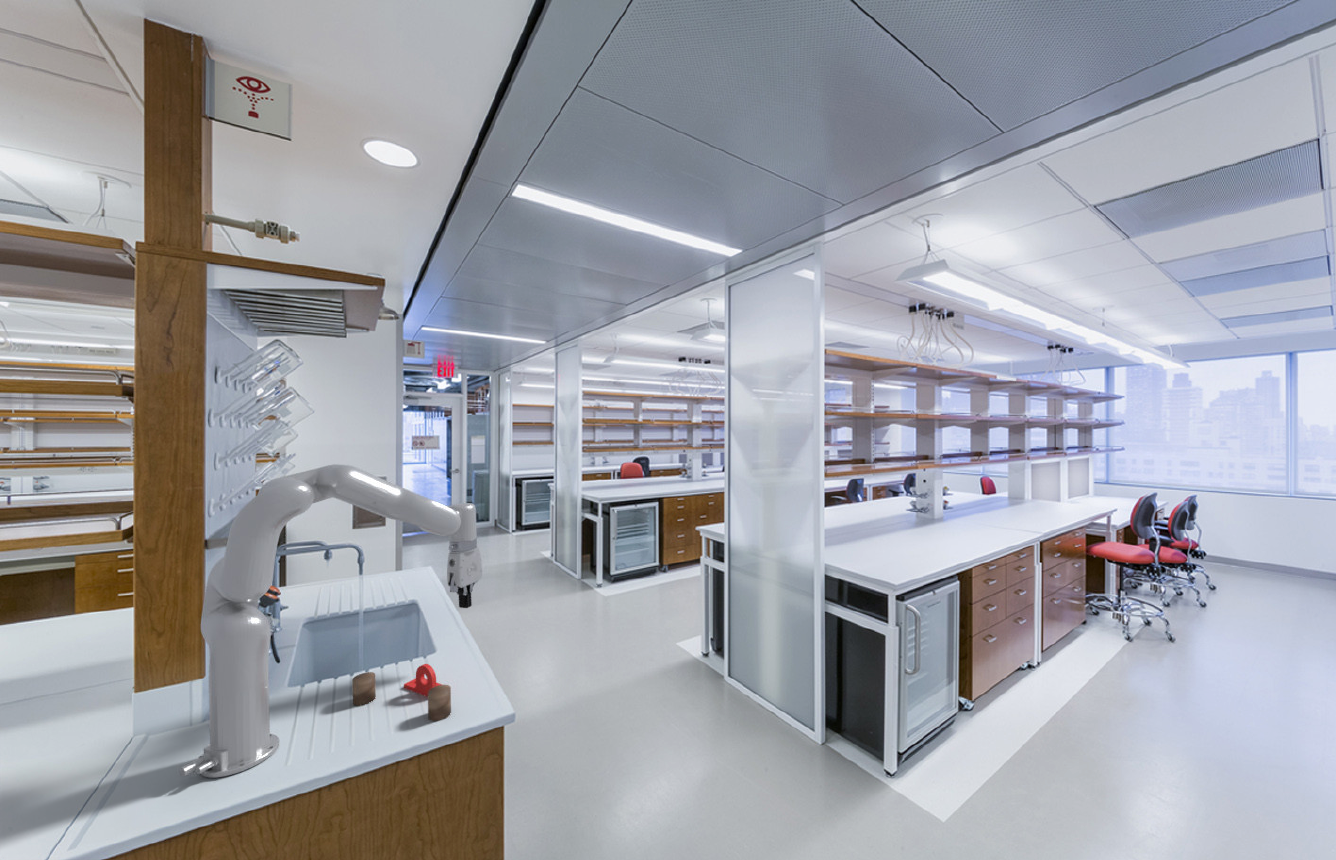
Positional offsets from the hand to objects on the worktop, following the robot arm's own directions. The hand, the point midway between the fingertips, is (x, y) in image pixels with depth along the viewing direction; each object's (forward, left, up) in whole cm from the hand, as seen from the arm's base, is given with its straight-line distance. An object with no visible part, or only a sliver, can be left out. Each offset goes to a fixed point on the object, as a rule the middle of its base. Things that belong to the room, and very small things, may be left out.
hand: (465, 606), depth 142 cm
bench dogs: (-23, 0, -17) cm, 29 cm away
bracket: (-15, +1, -17) cm, 23 cm away
